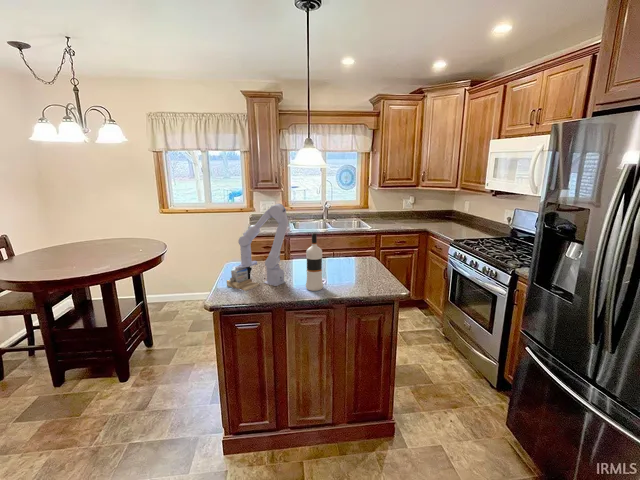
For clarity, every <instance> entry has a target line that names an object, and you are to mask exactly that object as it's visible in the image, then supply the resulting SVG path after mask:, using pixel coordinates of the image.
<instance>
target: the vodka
mask: <svg viewBox="0 0 640 480" xmlns="http://www.w3.org/2000/svg"><path fill="white" fill-rule="evenodd" d="M317 237H318V235H317V233H315V232H313V233H311V246H309V247H308V248H307V249H306V251H305V254H306V256H305V257H306V283H305V288H306V289H307V290H308V291H310V292H311V291H312V292H317V291H321V290H322V289H323V288H324V283H323V249H322V248H321V247H319V246H318V240H317V239H318V238H317Z"/></svg>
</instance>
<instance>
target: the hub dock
mask: <svg viewBox="0 0 640 480" xmlns="http://www.w3.org/2000/svg"><path fill="white" fill-rule="evenodd" d="M226 286H227V287H230V288H232V289H236V290H242V291H245V292H247V291H249V290H252V289H255V288H257V287H259V286H260V283H259V282H256V281H253V279H252V278H250V279H248V280H245V281H243V282H240V283H237V282H235V278H234V277H232V276H231V277H230V278H229V279H227V280H226Z"/></svg>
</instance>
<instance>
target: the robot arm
mask: <svg viewBox="0 0 640 480" xmlns="http://www.w3.org/2000/svg"><path fill="white" fill-rule="evenodd" d="M272 218H273V219H275V221H276V223H277V224H278V225H277V227H276V231H275V235H274V239H273V242H272V245H271V250H270V252H269V253H268V256H267V258H266V259H265V261H264V265H265V267H266V270H265V271H266V280H265V281H263V284H265V285H266V284H267V285H270V286H274V287H278V286H281V285H282V284H284V283H286V281H285V270H284V269H282V268H281V267H280V264H279V263H280V261H281V257H280V256H281V250H282V245H283V243H284V239H285V235H286V233H287V228H288V224H289V218H288V215H287V209H286V207H285V206H284V205H283V204H282V203H276V204H274V205H271V206H270V207H269V208H268V209H267V210H266V211H265V212H263V214H262V215H261V216H260V218H259V219H258V221H257V222H256V223H255V224H251V225H249V226H248V227H247V230H246V231H245V232H243V233H242V235H241V236H239V237H238V238H239V239H238V241H237V242H238V246H240V264H239V265H237V266H235V267H234V268H235V269H234V270H239V269H242V268H247V271H248V279H251V272H252V266H257V265H258V261H257V260H253V259H252V246H251V244H252V242H253V241H254V239H255V238H256V237H257V236H258V235H259V233H261V231H260V229H261V228H262V227H263V226H264V224H265V223H267V221H268V220H269V219H272Z"/></svg>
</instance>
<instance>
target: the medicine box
mask: <svg viewBox="0 0 640 480" xmlns="http://www.w3.org/2000/svg"><path fill="white" fill-rule="evenodd" d="M230 273H231V278H232V277H234V278H235V282H237V283H240V282H243V281H245V280H248V271H247V268H242V269H239V270H235V269H232V270H231V271H230Z"/></svg>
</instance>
